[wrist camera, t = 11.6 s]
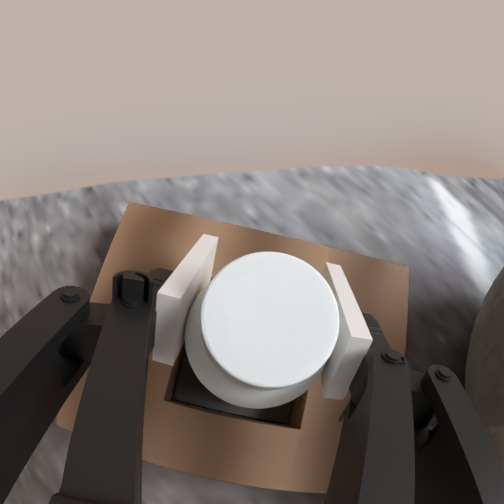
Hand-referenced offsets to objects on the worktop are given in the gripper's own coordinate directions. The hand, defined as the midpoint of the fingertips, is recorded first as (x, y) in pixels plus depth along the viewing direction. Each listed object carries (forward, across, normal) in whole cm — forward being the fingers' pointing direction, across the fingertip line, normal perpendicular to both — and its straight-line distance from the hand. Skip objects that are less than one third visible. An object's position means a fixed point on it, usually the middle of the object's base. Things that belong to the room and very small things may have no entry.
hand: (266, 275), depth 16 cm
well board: (+1, 0, -6) cm, 6 cm away
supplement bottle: (0, 0, -5) cm, 5 cm away
